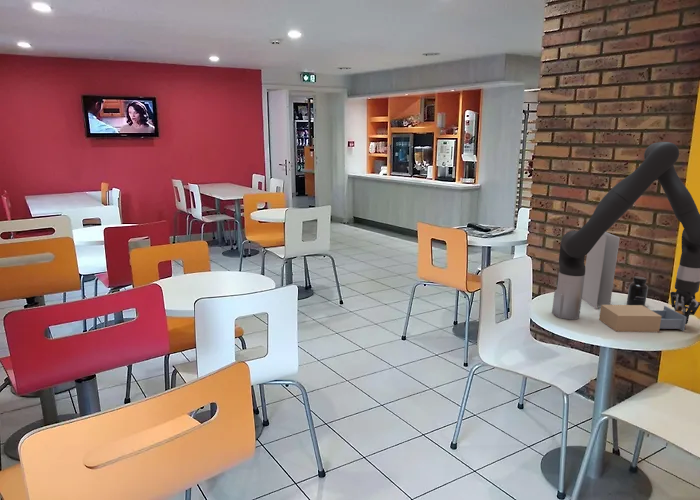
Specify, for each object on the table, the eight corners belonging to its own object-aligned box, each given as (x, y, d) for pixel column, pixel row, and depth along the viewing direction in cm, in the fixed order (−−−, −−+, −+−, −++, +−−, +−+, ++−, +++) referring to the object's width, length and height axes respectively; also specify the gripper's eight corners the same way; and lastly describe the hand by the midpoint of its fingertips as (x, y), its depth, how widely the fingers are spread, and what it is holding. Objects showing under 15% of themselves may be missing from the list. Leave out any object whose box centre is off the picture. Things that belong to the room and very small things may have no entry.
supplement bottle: (637, 308, 212) (641, 280, 209) (622, 303, 218) (626, 276, 215) (648, 306, 214) (653, 279, 212) (634, 301, 220) (638, 274, 218)
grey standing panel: (609, 309, 209) (620, 237, 203) (596, 309, 209) (606, 237, 203) (593, 298, 223) (603, 230, 217) (581, 298, 223) (590, 230, 217)
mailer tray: (641, 330, 186) (643, 316, 185) (623, 318, 198) (625, 305, 197) (694, 331, 187) (697, 317, 186) (673, 319, 199) (675, 306, 197)
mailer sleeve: (615, 331, 186) (618, 315, 185) (599, 319, 198) (601, 304, 196) (659, 331, 186) (661, 316, 185) (639, 320, 198) (642, 305, 197)
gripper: (666, 272, 195) (659, 315, 199) (691, 283, 182) (683, 329, 185) (685, 272, 196) (677, 315, 199) (712, 283, 182) (703, 329, 186)
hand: (680, 321), depth 192 cm, fingers closed on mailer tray, 3 cm apart
